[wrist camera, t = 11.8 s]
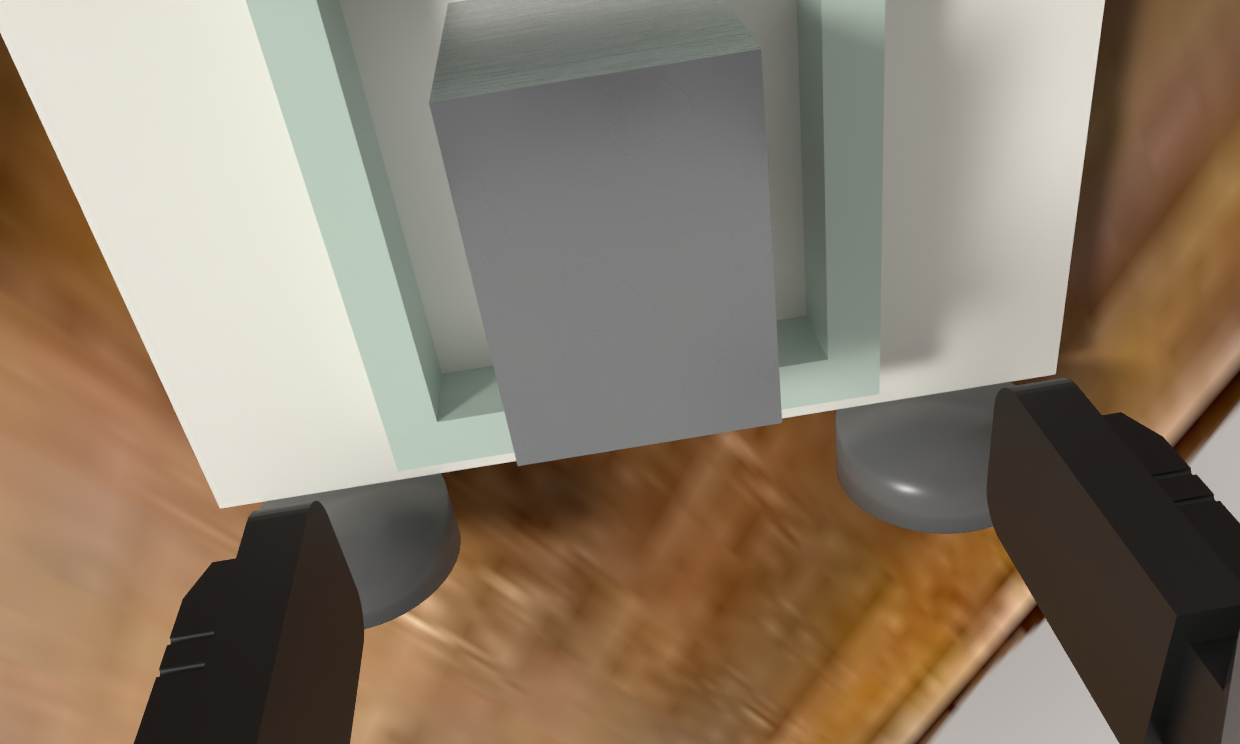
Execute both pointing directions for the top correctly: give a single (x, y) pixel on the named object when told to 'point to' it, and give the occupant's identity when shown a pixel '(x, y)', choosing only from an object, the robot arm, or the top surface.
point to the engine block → (613, 216)
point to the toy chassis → (438, 268)
